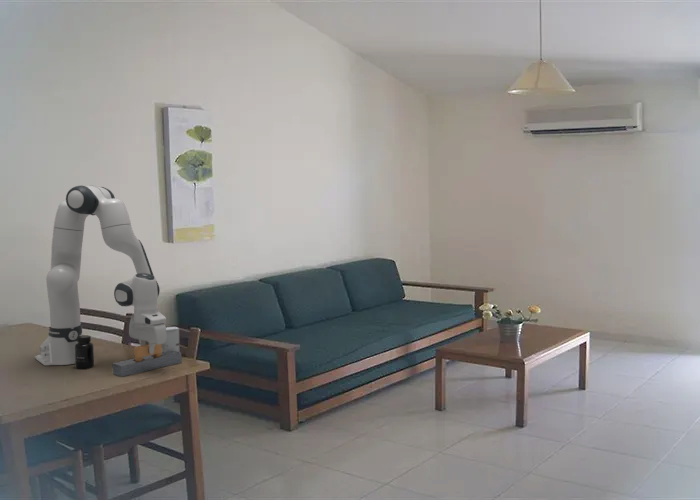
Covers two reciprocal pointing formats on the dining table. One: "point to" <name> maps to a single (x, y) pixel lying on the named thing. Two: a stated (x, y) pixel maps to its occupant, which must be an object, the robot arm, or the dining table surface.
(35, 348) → the dining table surface
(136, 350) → the clip
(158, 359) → the rail
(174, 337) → the skincare box
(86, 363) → the supplement bottle
